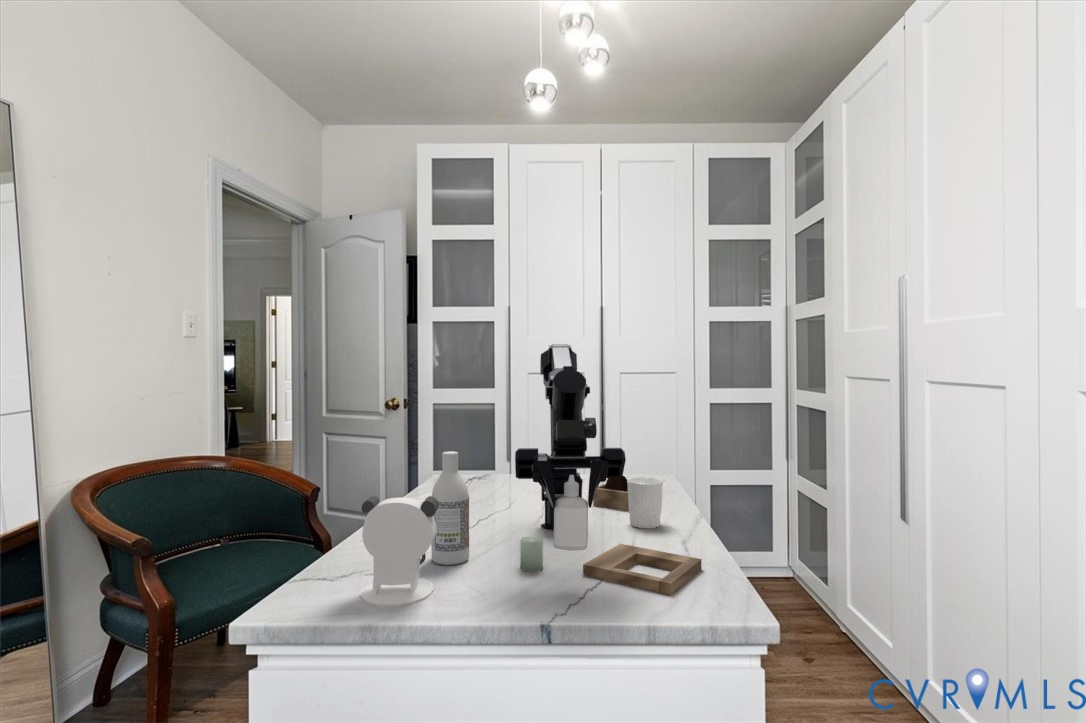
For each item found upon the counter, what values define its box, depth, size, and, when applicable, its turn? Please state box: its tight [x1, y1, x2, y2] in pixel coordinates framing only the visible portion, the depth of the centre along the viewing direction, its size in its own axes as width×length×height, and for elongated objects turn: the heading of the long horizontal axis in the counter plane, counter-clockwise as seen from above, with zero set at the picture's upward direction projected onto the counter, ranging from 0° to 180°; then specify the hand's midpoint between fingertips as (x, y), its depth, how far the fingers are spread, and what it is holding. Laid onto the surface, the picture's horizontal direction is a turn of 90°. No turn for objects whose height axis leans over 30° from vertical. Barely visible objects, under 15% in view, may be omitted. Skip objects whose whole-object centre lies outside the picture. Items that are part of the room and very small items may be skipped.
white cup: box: [627, 476, 663, 529], centre depth 134 cm, size 8×8×10 cm
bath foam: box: [430, 450, 470, 566], centre depth 111 cm, size 7×7×20 cm
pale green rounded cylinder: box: [519, 536, 544, 573], centre depth 107 cm, size 4×4×5 cm
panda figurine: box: [360, 495, 439, 608], centre depth 95 cm, size 12×11×15 cm
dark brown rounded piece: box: [605, 475, 628, 492], centre depth 153 cm, size 8×8×7 cm
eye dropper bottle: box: [553, 475, 589, 551], centre depth 98 cm, size 4×6×12 cm
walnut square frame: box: [582, 543, 702, 596], centre depth 104 cm, size 16×14×2 cm
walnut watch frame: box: [592, 483, 629, 512], centre depth 153 cm, size 11×11×4 cm
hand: (572, 506), depth 97 cm, fingers closed on eye dropper bottle, 5 cm apart
